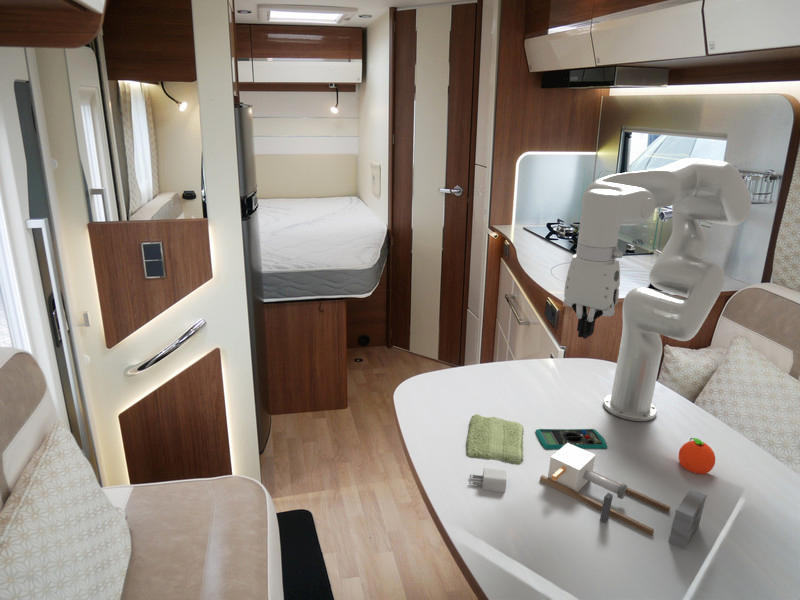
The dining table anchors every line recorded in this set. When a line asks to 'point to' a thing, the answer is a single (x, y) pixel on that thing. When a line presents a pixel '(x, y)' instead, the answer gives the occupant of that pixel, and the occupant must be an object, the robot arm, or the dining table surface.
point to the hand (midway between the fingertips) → (584, 335)
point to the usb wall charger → (491, 479)
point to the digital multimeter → (571, 438)
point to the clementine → (697, 456)
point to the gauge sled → (579, 470)
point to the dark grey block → (606, 507)
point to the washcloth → (495, 439)
